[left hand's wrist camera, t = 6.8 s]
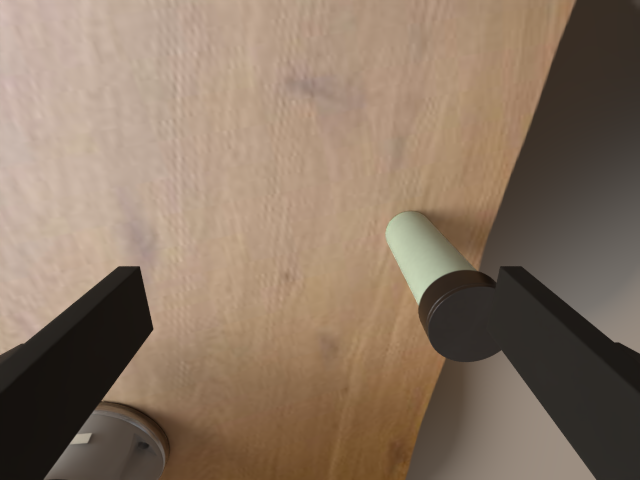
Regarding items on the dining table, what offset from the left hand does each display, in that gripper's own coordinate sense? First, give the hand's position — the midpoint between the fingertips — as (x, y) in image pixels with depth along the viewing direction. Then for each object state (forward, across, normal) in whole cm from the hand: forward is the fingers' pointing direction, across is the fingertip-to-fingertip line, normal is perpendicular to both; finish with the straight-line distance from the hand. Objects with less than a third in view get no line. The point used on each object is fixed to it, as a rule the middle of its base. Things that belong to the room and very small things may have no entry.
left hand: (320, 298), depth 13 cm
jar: (+22, +9, -6) cm, 25 cm away
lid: (+7, +9, -6) cm, 13 cm away
